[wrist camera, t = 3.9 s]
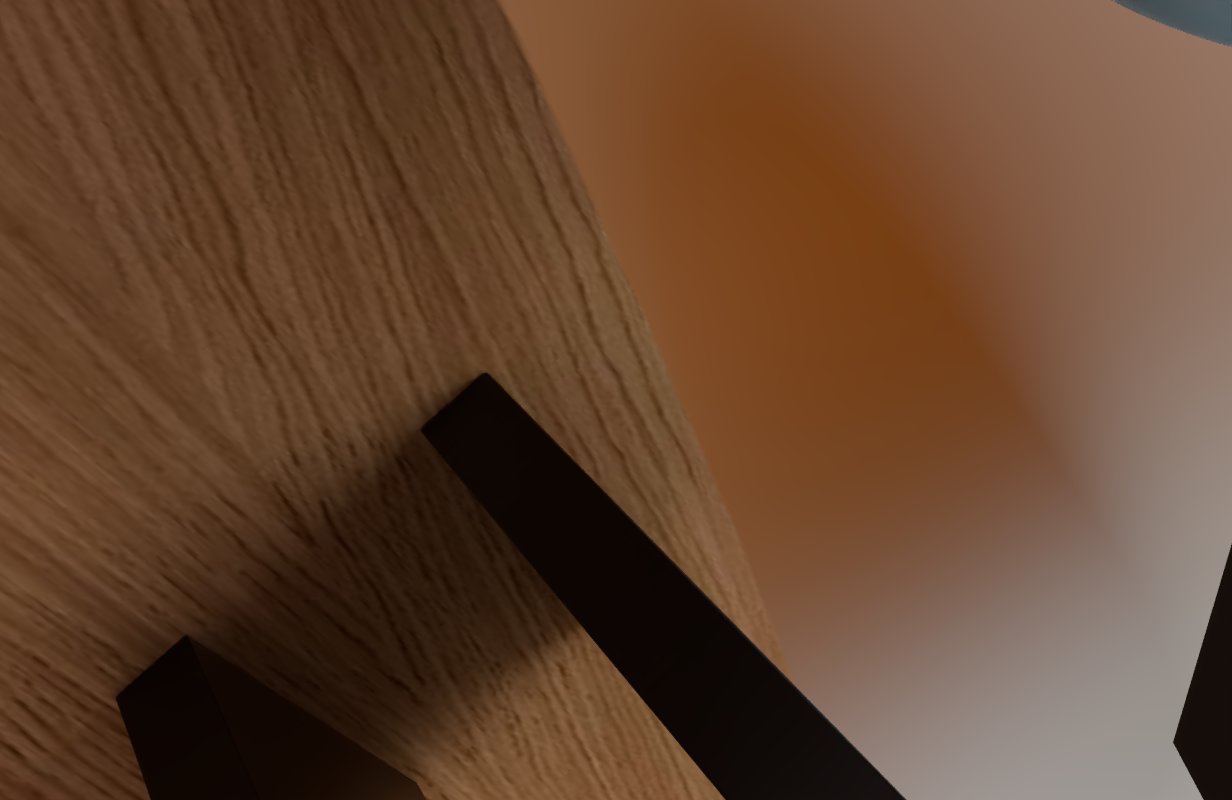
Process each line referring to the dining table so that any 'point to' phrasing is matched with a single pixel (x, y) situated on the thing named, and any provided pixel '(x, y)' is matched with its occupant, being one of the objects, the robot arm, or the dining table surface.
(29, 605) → the dining table surface
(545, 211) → the dining table surface
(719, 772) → the shelf stand
